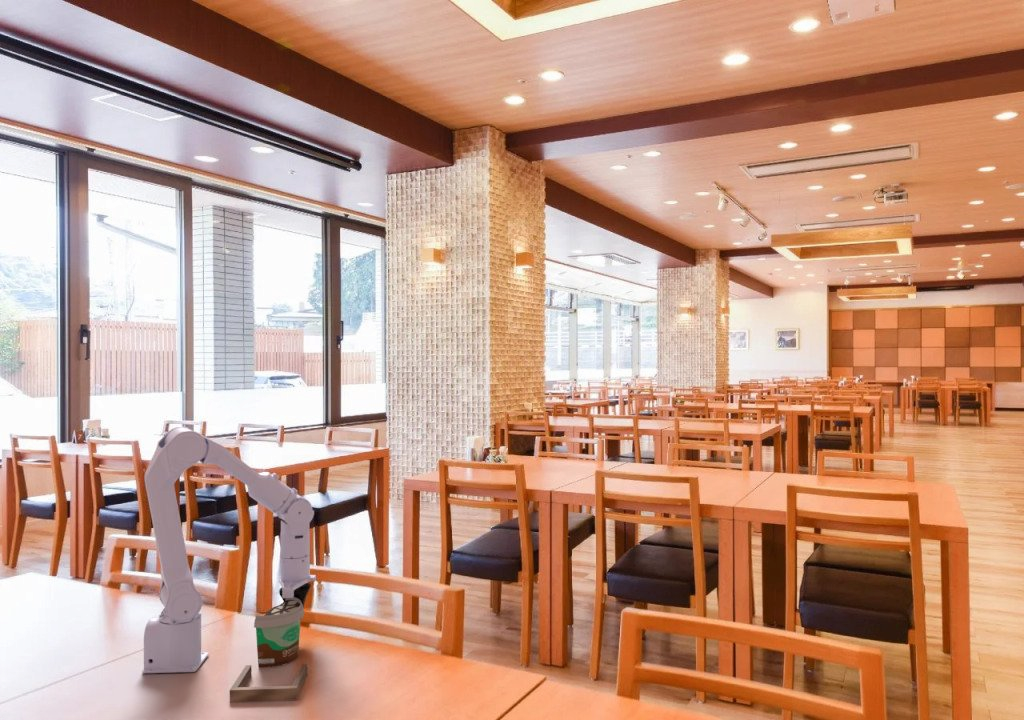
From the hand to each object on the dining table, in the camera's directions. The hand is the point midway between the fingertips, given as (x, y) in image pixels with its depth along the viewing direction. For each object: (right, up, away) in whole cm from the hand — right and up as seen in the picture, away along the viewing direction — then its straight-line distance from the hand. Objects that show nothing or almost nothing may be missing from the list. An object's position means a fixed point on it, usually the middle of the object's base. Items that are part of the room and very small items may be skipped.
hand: (295, 622), depth 153 cm
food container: (+1, -4, -8) cm, 9 cm away
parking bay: (+2, -4, -21) cm, 21 cm away
